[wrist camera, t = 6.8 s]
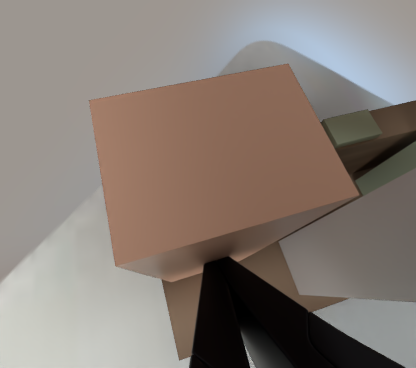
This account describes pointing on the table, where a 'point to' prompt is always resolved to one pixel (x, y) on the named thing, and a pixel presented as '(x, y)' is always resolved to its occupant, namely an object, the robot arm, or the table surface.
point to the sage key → (388, 170)
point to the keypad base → (272, 254)
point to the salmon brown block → (212, 170)
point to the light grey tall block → (360, 247)
